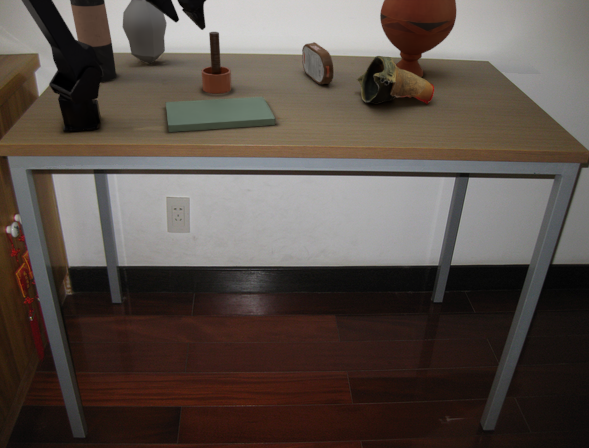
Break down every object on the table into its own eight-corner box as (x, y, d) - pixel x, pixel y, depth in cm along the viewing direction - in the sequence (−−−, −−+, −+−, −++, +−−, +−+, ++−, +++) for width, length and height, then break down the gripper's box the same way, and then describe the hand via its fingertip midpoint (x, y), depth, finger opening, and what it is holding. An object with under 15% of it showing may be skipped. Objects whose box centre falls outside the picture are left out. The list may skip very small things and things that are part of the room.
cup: (204, 96, 117) (202, 75, 114) (201, 86, 123) (200, 66, 120) (233, 95, 119) (232, 74, 116) (229, 85, 124) (228, 65, 121)
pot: (456, 72, 110) (385, 46, 104) (439, 122, 112) (369, 99, 106) (417, 73, 126) (355, 51, 120) (403, 117, 128) (341, 97, 122)
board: (168, 132, 100) (168, 125, 99) (166, 108, 110) (165, 101, 110) (275, 125, 105) (275, 118, 104) (263, 102, 115) (263, 96, 115)
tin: (333, 88, 125) (336, 54, 121) (321, 89, 124) (324, 55, 120) (310, 70, 137) (311, 38, 132) (299, 71, 136) (300, 39, 131)
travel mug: (108, 83, 122) (92, -5, 111) (79, 80, 123) (61, -7, 112) (123, 74, 128) (109, -10, 117) (95, 71, 129) (79, -13, 118)
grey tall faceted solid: (172, 69, 133) (159, -59, 116) (128, 71, 131) (108, -60, 114) (169, 57, 142) (157, -64, 125) (128, 58, 140) (110, -64, 123)
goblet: (450, 86, 130) (473, -19, 116) (377, 83, 130) (391, -22, 115) (435, 64, 145) (453, -31, 131) (369, 61, 145) (381, -34, 131)
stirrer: (211, 91, 119) (207, 34, 111) (209, 86, 121) (206, 31, 114) (224, 90, 120) (222, 34, 112) (222, 86, 122) (220, 30, 115)
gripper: (212, -61, 97) (241, 9, 109) (154, -69, 106) (187, -4, 119) (174, -27, 93) (208, 42, 106) (118, -39, 103) (155, 25, 116)
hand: (190, 24), depth 112 cm, fingers open, 9 cm apart
